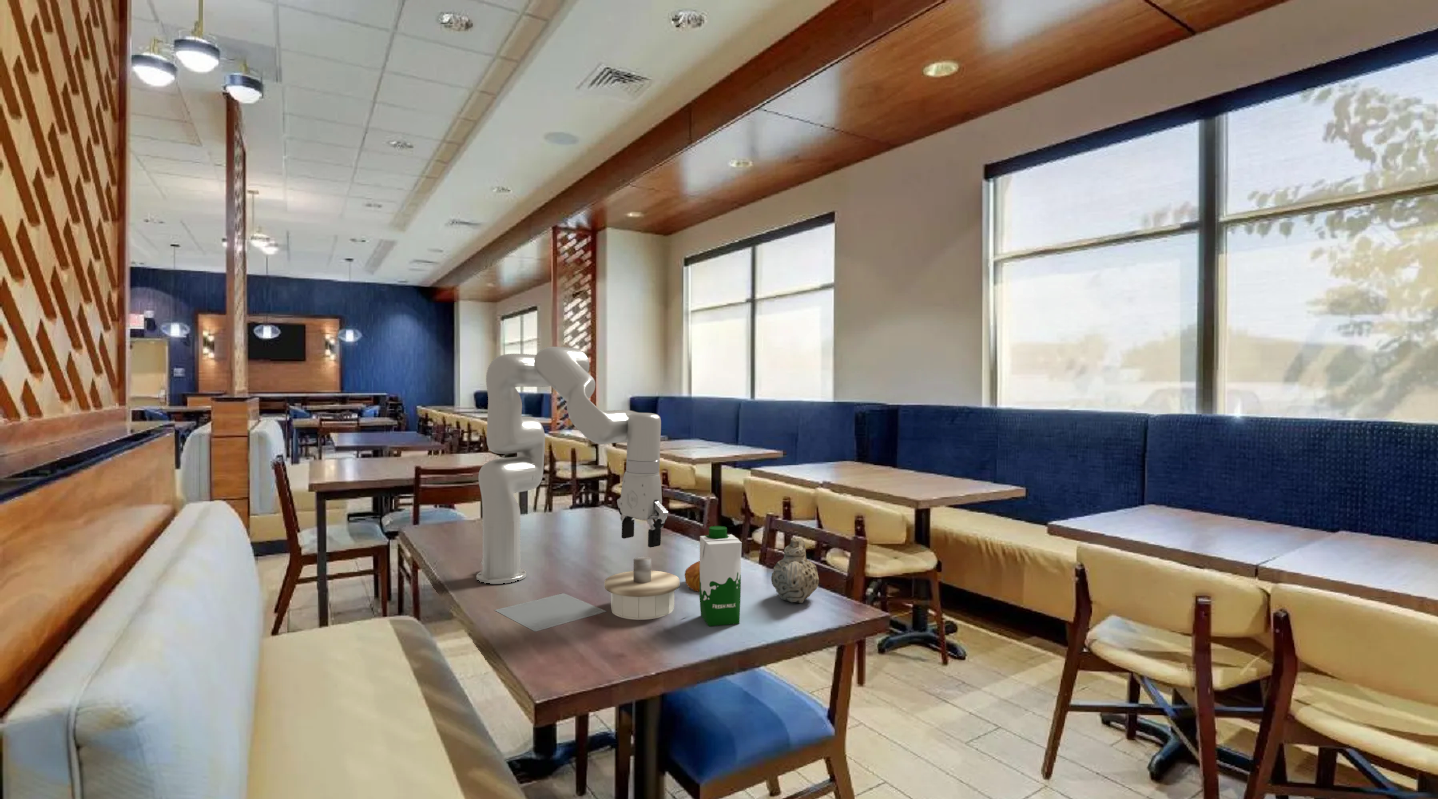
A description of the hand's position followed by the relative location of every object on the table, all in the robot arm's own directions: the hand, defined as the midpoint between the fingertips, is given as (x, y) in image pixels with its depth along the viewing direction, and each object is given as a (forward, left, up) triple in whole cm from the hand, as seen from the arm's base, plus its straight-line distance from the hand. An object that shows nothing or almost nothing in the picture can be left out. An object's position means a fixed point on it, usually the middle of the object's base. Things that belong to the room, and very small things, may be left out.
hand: (640, 541), depth 155 cm
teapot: (+19, +33, -16) cm, 41 cm away
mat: (-12, -16, -16) cm, 26 cm away
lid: (+1, 0, -10) cm, 10 cm away
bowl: (+1, 0, -16) cm, 16 cm away
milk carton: (+17, +9, -16) cm, 25 cm away
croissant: (-3, +26, -16) cm, 31 cm away
